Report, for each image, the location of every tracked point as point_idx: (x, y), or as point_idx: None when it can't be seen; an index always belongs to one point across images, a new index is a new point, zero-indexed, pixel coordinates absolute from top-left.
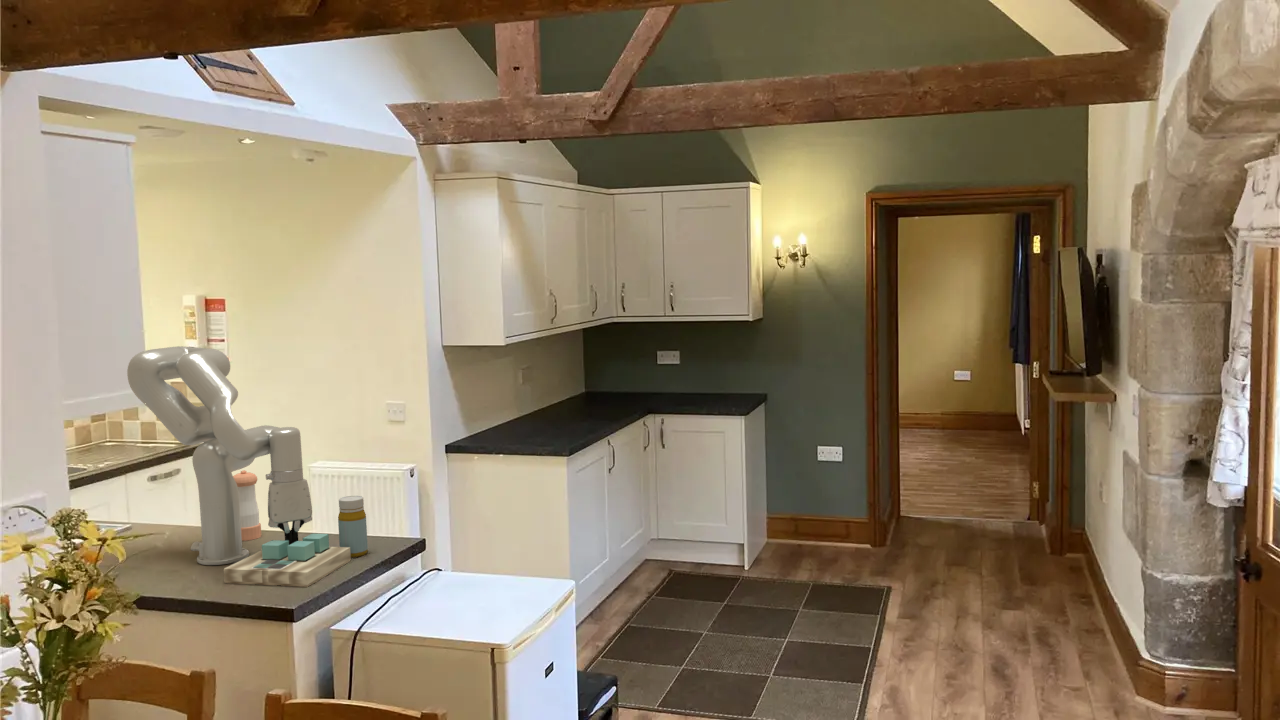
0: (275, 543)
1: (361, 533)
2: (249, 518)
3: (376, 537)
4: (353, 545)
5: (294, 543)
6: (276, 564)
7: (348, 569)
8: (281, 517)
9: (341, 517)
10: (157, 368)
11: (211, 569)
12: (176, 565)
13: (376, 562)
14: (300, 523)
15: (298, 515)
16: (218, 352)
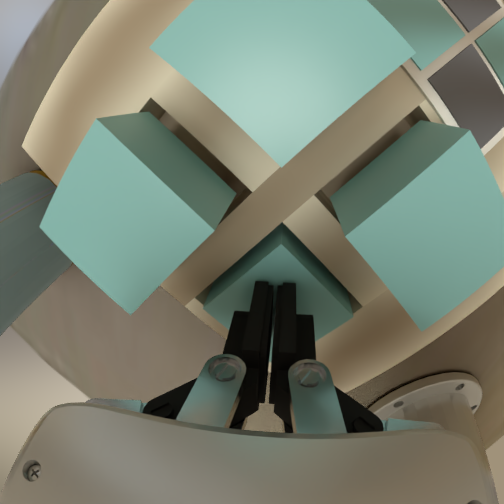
0: (457, 223)
1: None
2: None
3: (23, 335)
4: (14, 184)
5: (335, 88)
6: (460, 15)
7: (97, 13)
8: (407, 485)
9: None
10: None
11: (494, 348)
12: (495, 405)
13: (12, 71)
14: (179, 408)
15: (167, 469)
16: None
